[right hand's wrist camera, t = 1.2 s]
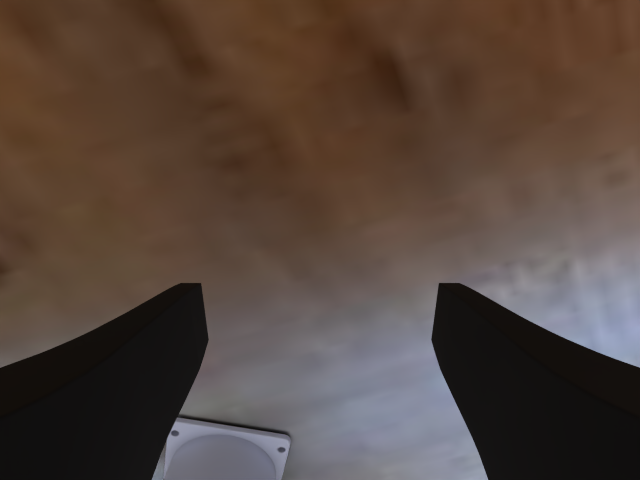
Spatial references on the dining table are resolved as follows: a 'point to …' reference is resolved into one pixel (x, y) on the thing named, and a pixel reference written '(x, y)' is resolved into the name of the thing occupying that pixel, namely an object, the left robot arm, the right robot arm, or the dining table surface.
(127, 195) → the dining table surface
